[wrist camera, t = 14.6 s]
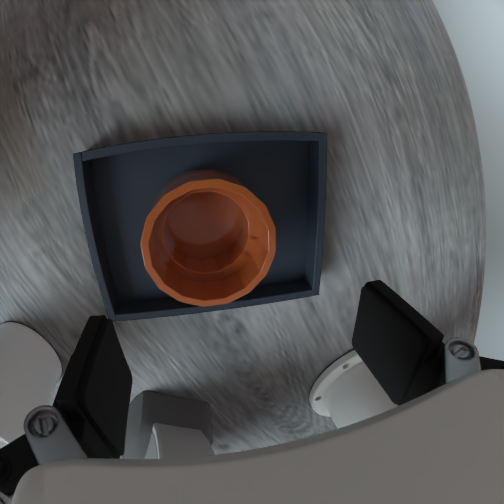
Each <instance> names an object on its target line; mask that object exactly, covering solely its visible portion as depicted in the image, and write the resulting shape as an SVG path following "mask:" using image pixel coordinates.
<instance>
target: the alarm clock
mask: <svg viewBox="0 0 504 504" xmlns="http://www.w3.org/2000/svg"><path fill="white" fill-rule="evenodd" d="M212 442H213V437H212V425H211V415H210V406H209V404H207V403H206V402H200V401H195V400H189V399H184V398H179V397H174V396H169V395H165V394H160V393H156V392H152V391H143V392H142V393H141V394H139V395H138V396H136V397H135V398H134V399H133V400H132V402H131V403H130V404H129V410H128V419H127V428H126V438H125V450H124V455H123V457H124V459H167V458H187V457H200V456H210V455H214V452H213V449H212V447H211V445H212Z"/></svg>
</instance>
